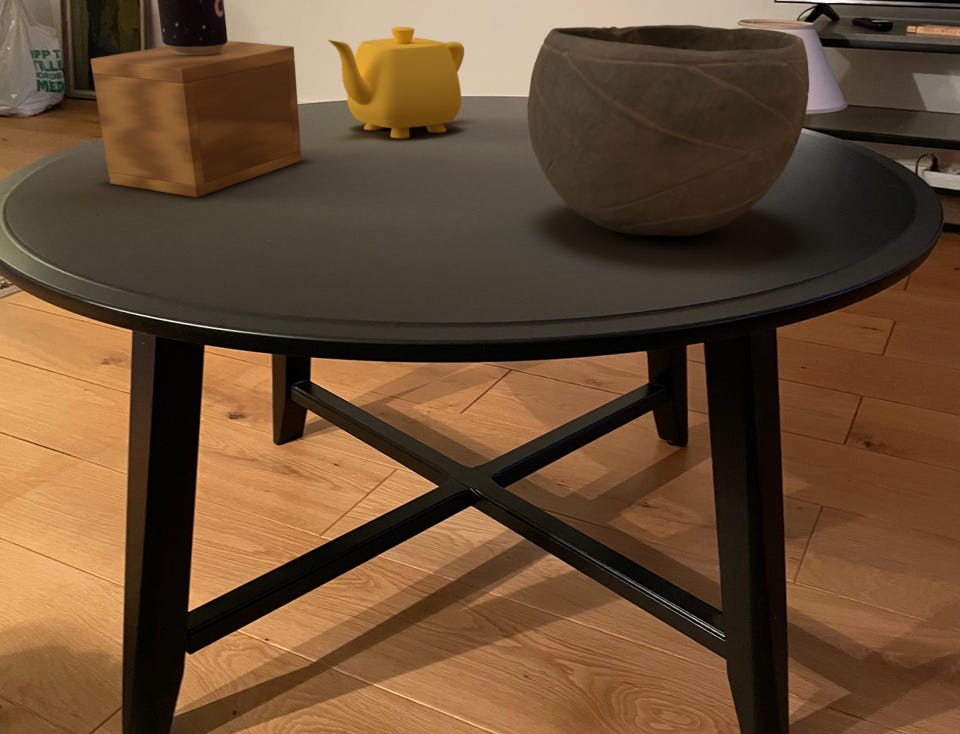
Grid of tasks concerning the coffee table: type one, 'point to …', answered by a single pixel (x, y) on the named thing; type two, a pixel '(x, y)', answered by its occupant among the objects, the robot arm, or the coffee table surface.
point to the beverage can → (193, 26)
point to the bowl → (666, 122)
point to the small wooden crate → (197, 116)
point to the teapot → (402, 82)
